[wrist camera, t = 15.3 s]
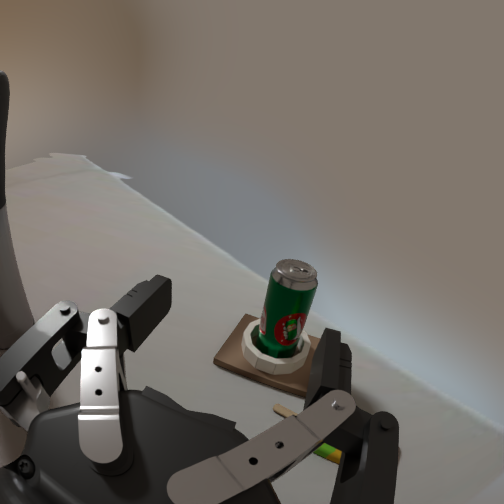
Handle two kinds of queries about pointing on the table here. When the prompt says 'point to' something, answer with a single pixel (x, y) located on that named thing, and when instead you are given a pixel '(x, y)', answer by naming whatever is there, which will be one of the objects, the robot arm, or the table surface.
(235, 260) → the table surface
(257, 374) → the socket plate
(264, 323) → the soda can
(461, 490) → the table surface
